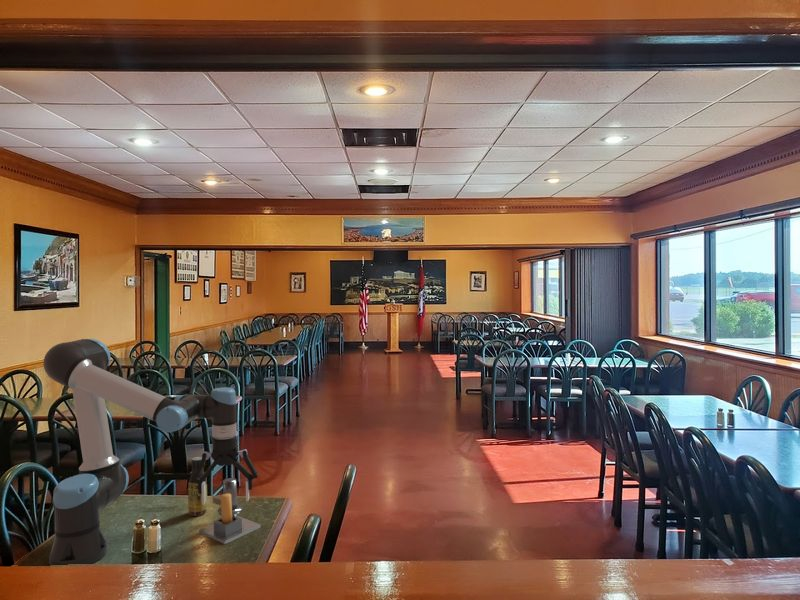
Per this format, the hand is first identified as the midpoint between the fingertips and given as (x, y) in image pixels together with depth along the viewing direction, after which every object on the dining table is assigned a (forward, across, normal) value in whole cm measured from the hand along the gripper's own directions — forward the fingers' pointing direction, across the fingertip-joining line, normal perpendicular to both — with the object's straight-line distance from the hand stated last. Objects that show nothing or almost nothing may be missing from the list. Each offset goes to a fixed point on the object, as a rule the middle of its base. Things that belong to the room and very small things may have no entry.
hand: (225, 501), depth 177 cm
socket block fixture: (+11, -1, +5) cm, 12 cm away
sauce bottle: (+11, -12, +20) cm, 26 cm away
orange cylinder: (+10, 0, 0) cm, 10 cm away
